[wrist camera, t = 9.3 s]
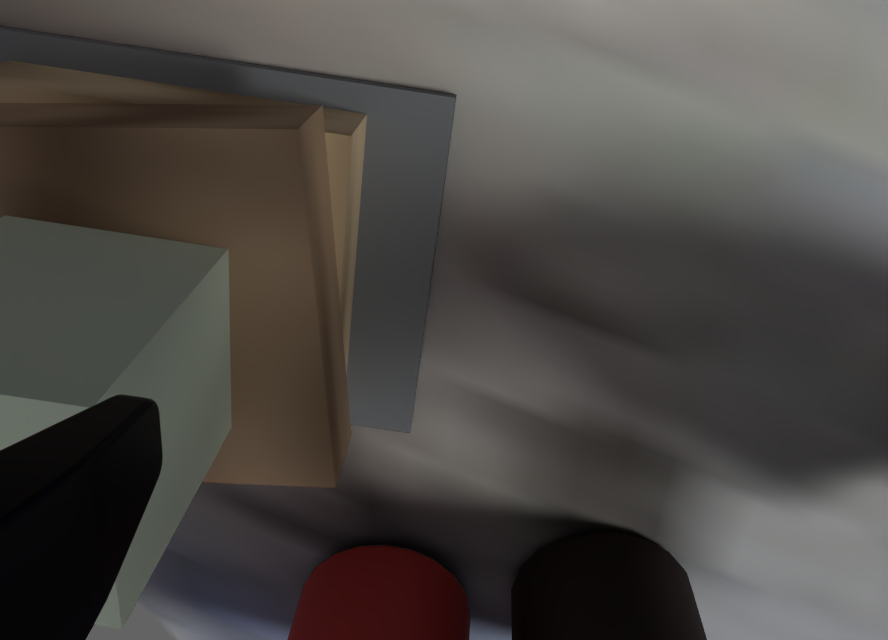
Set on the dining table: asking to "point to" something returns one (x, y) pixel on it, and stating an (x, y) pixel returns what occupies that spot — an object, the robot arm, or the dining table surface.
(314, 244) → the slab top
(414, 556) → the beer can
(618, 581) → the bottle
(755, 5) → the dining table surface
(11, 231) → the sage block
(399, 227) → the mat
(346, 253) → the slab bottom
